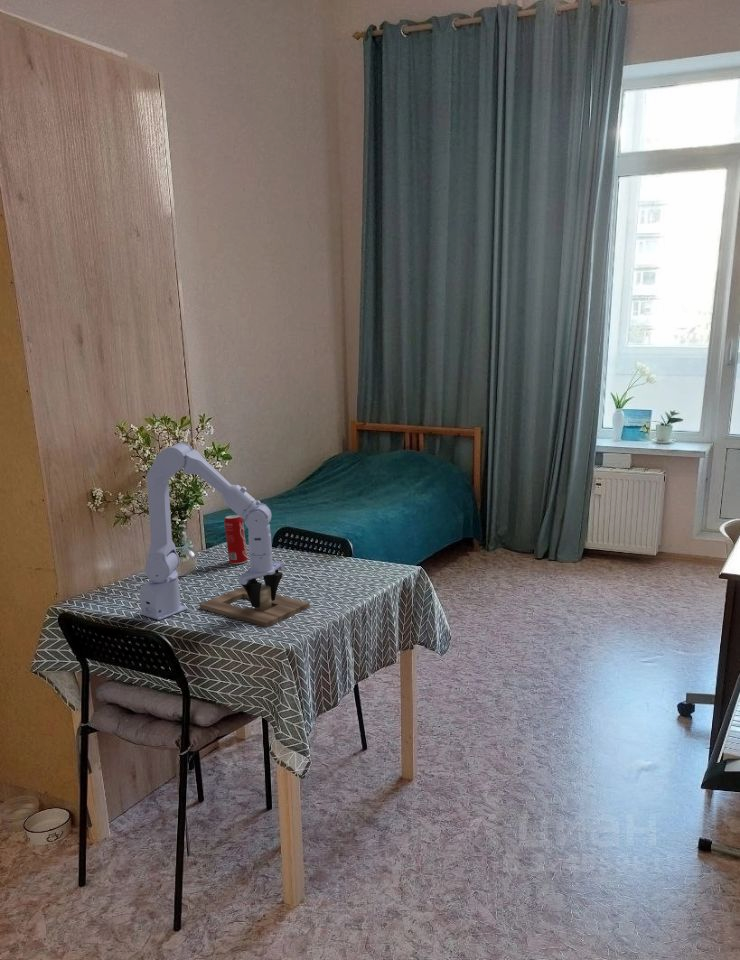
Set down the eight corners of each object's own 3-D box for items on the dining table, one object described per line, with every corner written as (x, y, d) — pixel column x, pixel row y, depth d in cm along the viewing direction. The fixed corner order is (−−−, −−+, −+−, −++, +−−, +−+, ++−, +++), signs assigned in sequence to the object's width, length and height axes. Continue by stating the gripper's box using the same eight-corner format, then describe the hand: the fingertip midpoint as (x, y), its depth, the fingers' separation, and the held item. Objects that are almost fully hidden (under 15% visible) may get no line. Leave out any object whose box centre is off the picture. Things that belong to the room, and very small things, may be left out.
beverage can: (246, 564, 229) (243, 517, 226) (225, 565, 229) (222, 518, 226) (249, 559, 235) (246, 513, 232) (228, 559, 235) (225, 513, 232)
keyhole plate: (266, 627, 179) (266, 622, 179) (199, 608, 193) (199, 604, 193) (309, 607, 192) (309, 602, 192) (243, 590, 206) (243, 586, 205)
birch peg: (263, 614, 188) (261, 592, 186) (251, 611, 190) (249, 588, 189) (275, 609, 191) (274, 587, 190) (263, 605, 194) (262, 584, 192)
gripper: (251, 562, 179) (254, 615, 182) (291, 547, 191) (293, 597, 194) (231, 557, 183) (234, 609, 186) (271, 543, 195) (274, 592, 198)
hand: (263, 603), depth 190 cm, fingers open, 5 cm apart
